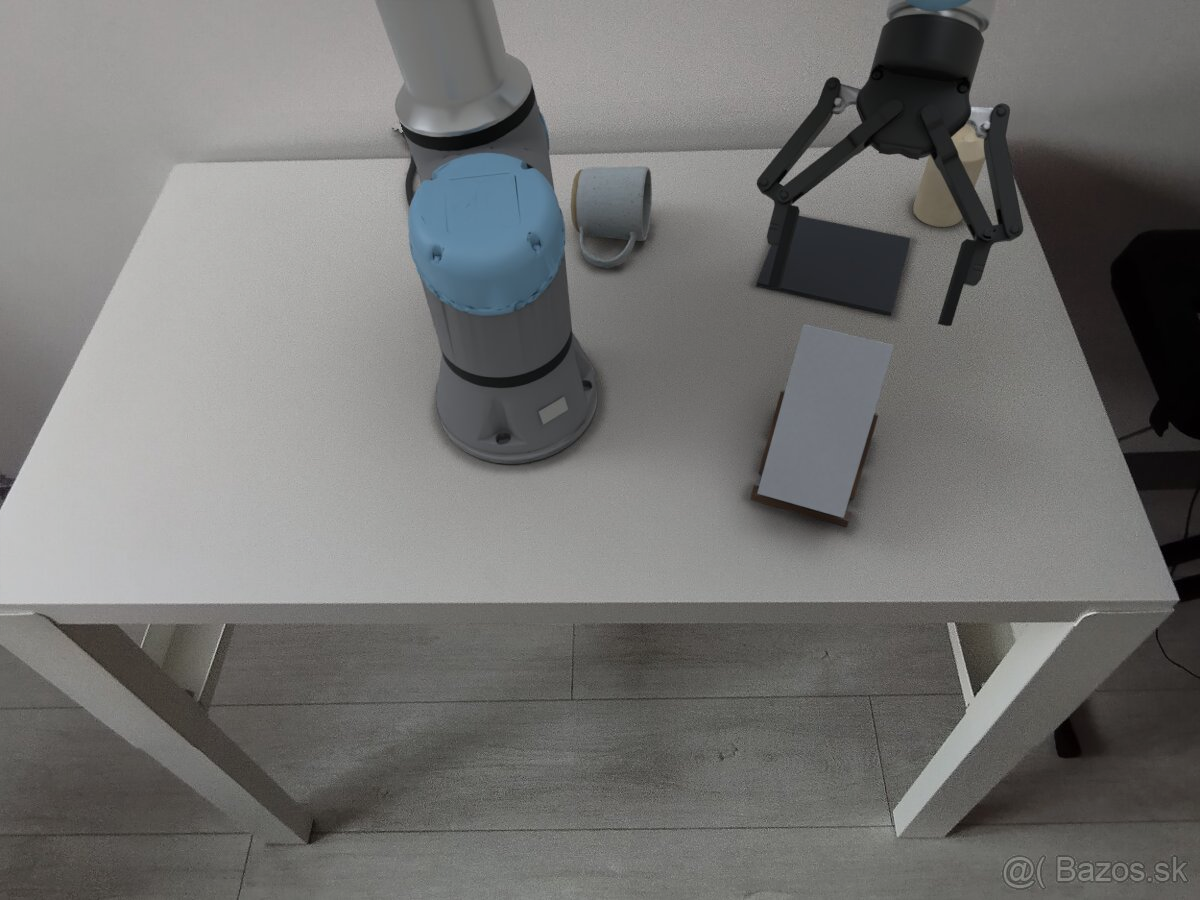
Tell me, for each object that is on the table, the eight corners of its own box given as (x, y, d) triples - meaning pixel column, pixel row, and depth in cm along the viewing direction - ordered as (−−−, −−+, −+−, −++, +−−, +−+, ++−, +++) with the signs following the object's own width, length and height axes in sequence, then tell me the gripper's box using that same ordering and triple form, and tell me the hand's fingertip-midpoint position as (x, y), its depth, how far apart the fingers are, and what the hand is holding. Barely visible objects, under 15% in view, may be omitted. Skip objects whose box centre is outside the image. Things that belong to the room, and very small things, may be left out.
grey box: (790, 399, 80) (816, 285, 68) (864, 418, 78) (904, 304, 67) (750, 523, 72) (772, 417, 60) (832, 547, 70) (871, 443, 59)
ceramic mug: (582, 205, 98) (578, 148, 92) (652, 210, 97) (653, 152, 91) (567, 269, 92) (561, 212, 86) (641, 274, 91) (641, 217, 85)
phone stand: (775, 424, 80) (784, 378, 74) (864, 448, 78) (881, 402, 72) (748, 506, 74) (757, 462, 69) (844, 533, 72) (860, 491, 67)
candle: (968, 227, 93) (999, 148, 85) (917, 228, 93) (943, 149, 85) (957, 196, 96) (986, 116, 88) (908, 196, 97) (932, 117, 89)
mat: (756, 285, 89) (756, 282, 89) (783, 216, 96) (783, 212, 95) (890, 315, 86) (891, 312, 85) (909, 241, 92) (910, 237, 92)
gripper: (1097, 68, 64) (1011, 341, 68) (775, 22, 70) (713, 276, 74) (1129, 35, 57) (1030, 341, 61) (768, -13, 63) (700, 269, 67)
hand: (856, 306), depth 68 cm, fingers open, 13 cm apart
